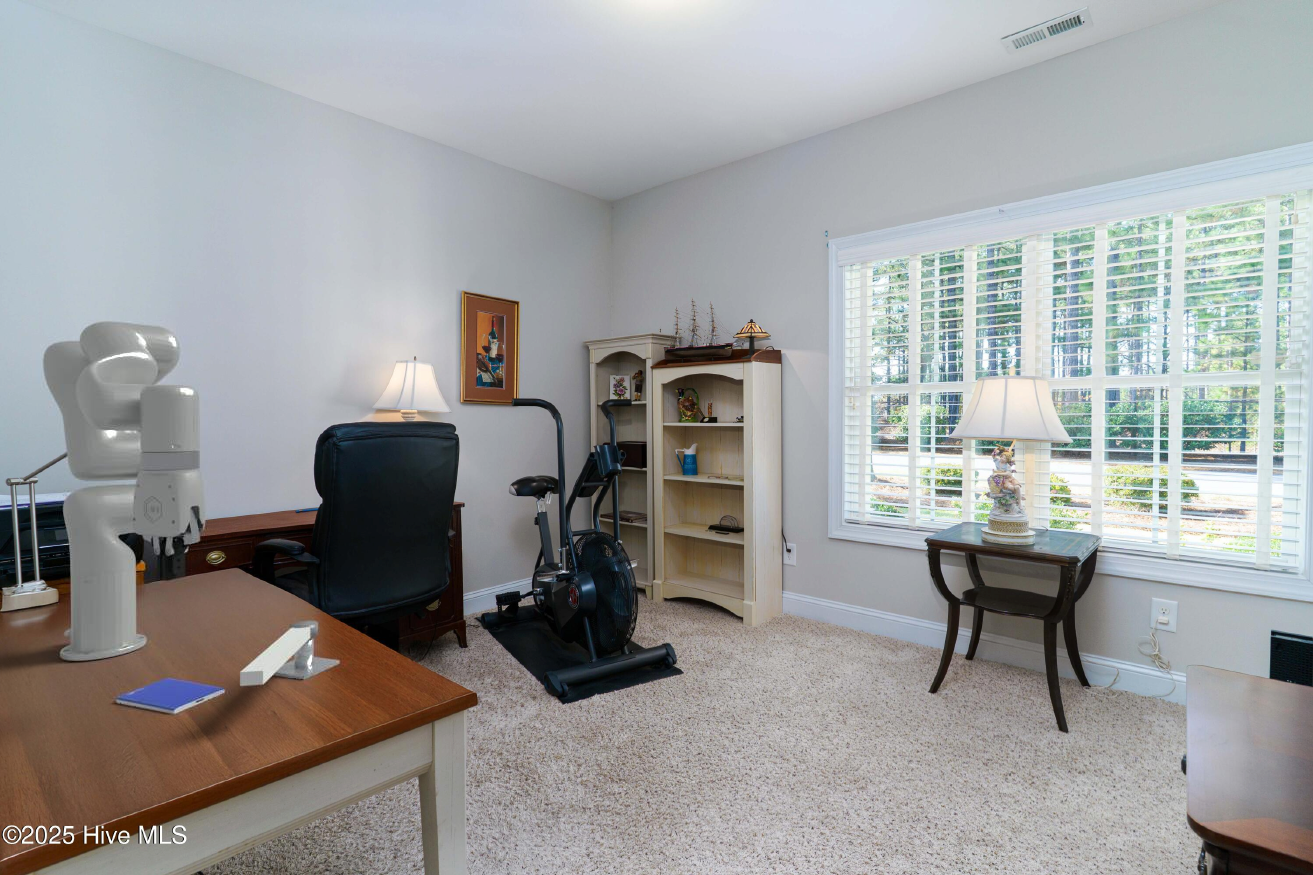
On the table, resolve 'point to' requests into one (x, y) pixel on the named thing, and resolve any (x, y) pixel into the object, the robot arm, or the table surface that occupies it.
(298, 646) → the bar
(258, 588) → the table surface
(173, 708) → the hard drive
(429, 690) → the table surface
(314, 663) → the metal stand base
